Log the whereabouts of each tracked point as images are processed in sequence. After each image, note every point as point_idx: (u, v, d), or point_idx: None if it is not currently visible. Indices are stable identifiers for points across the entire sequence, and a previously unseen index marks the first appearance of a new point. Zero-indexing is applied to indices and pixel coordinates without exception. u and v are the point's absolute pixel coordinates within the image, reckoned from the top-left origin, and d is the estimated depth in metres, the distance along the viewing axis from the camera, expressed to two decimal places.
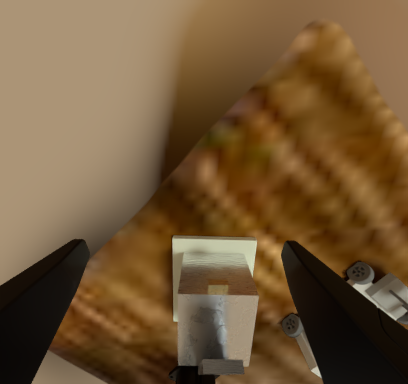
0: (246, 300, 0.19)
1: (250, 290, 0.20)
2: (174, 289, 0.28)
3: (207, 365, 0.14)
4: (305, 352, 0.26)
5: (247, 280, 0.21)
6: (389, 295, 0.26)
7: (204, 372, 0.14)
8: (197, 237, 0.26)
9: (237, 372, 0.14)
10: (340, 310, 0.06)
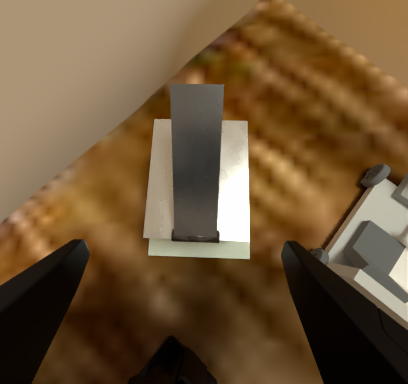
0: (234, 127, 0.17)
1: None
2: None
3: None
4: (339, 270, 0.17)
5: None
6: None
7: (172, 84, 0.11)
8: None
9: (215, 85, 0.11)
10: (340, 310, 0.06)
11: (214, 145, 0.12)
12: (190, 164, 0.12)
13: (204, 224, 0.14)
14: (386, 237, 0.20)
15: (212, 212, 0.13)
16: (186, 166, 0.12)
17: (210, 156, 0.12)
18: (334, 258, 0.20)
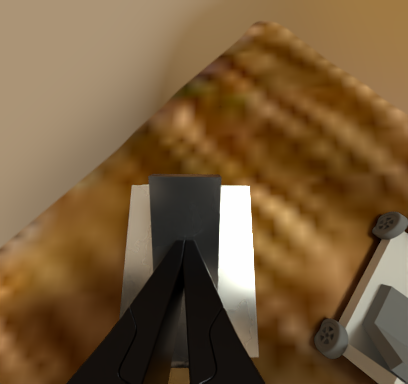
0: (233, 194, 0.13)
1: None
2: None
3: (158, 175, 0.09)
4: (366, 367, 0.14)
5: None
6: None
7: (151, 176, 0.08)
8: None
9: (209, 177, 0.08)
10: None
11: (210, 250, 0.09)
12: None
13: None
14: None
15: None
16: None
17: (205, 263, 0.09)
18: (353, 334, 0.17)
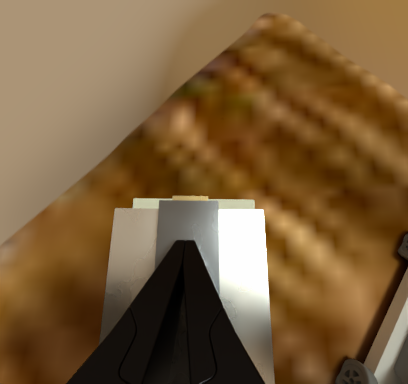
0: (242, 220, 0.10)
1: None
2: None
3: None
4: None
5: None
6: None
7: (161, 200, 0.10)
8: (169, 199, 0.18)
9: (208, 201, 0.10)
10: None
11: (210, 270, 0.09)
12: None
13: None
14: None
15: None
16: None
17: None
18: (384, 381, 0.14)
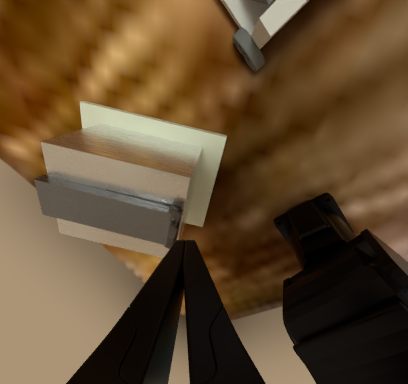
0: (52, 160, 0.13)
1: None
2: None
3: None
4: (261, 37, 0.11)
5: None
6: None
7: (43, 212, 0.15)
8: None
9: (36, 185, 0.14)
10: None
11: (81, 196, 0.13)
12: (99, 216, 0.14)
13: (156, 220, 0.14)
14: None
15: (144, 211, 0.13)
16: (101, 220, 0.14)
17: (91, 200, 0.14)
18: (251, 16, 0.13)
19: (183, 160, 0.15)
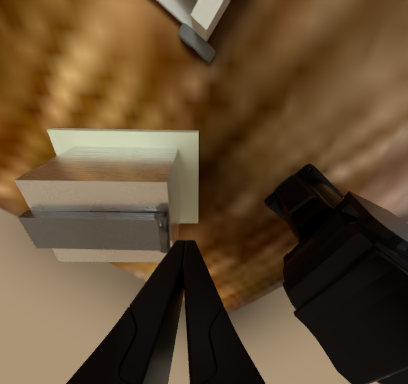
0: (31, 195, 0.13)
1: None
2: None
3: None
4: (200, 31, 0.11)
5: None
6: None
7: (36, 246, 0.15)
8: None
9: (22, 222, 0.14)
10: None
11: (67, 222, 0.14)
12: (90, 238, 0.14)
13: (145, 229, 0.14)
14: None
15: (131, 223, 0.14)
16: (93, 241, 0.15)
17: (78, 225, 0.14)
18: (189, 9, 0.13)
19: (159, 166, 0.15)
